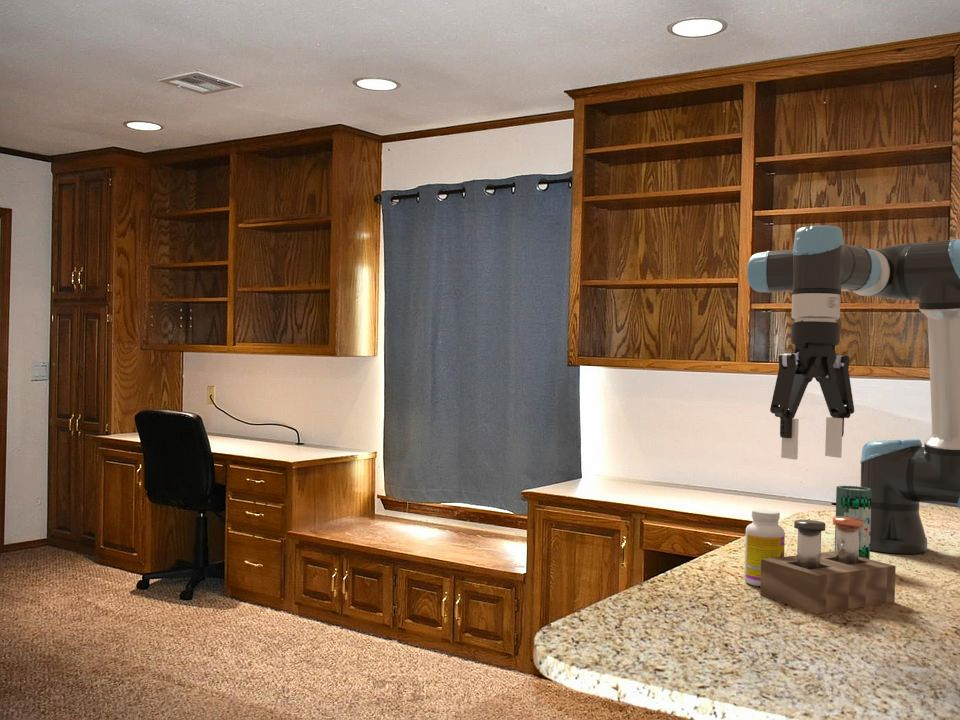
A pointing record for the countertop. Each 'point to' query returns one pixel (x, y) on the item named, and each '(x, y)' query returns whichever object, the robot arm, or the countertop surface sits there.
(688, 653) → the countertop surface
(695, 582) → the countertop surface
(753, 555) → the supplement bottle
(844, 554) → the rust plunger
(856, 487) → the can
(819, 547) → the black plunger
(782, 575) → the wooden holder block
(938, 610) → the countertop surface
